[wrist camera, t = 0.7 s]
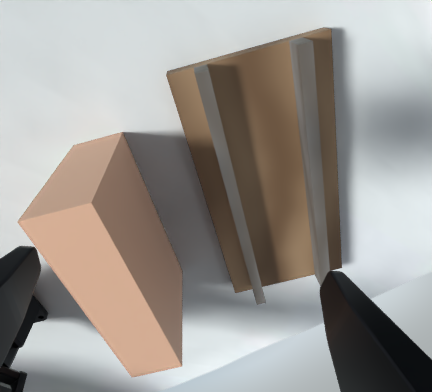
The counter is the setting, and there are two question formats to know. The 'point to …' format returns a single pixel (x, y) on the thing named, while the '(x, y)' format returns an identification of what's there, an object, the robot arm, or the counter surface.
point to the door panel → (112, 252)
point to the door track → (267, 157)
